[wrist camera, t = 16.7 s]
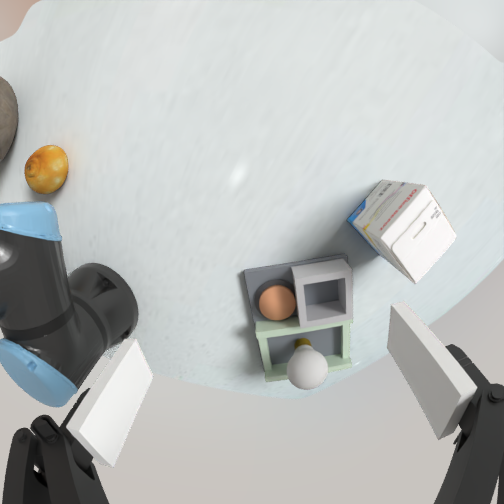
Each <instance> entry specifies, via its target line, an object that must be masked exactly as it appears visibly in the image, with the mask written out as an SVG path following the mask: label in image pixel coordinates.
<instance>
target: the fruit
mask: <svg viewBox="0 0 504 504" xmlns="http://www.w3.org/2000/svg"><path fill="white" fill-rule="evenodd" d="M67 173H68V159H67V156H66V153H65V152H64V151H63V149H61V148H60V147H58V146H54V145H47V146H44V147H41V148H40V149H38V150H37V151H35V152H34V153H33V154H32V155H31V156H30V157H29V159H28V160H27V162H26V165H25V178H26V181H27V183H28V185H29V187H30V188H31V189H32V190H34V191H35V192H37V193H41V194H49V193H52V192H54V191H56V190H57V189H59V188H60V187H61V186H62V184H63V183H64V181H65V179H66V177H67Z"/></svg>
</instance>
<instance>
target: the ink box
mask: <svg viewBox="0 0 504 504" xmlns="http://www.w3.org/2000/svg"><path fill="white" fill-rule="evenodd" d="M347 221H348V222H349V223H350V224H351V225H352V226H353V227H354V228H355V229H356V230H357V231H358V232H359V234H360V235H361V236H362V237H363V238H364V239H365V240H366V241H367V242H368V243H369V244H370V246H371V247H372V248H373V249H374V250H375V251H376V252H377V253H378V254H379V255H381V256H382V257H383V258H384V259H385V260H387V261H388V262H389V263H390V264H392V265H393V266H394V267H395V268H396V269H398V270H399V271H400V272H401V273H402V274H404V275H405V276H406V277H407V278H408V279H410V280H411V281H412V282H413V283H414V284H416V283H417V282H418V281H419V280H420V279H421V278H422V277H423V276H424V275H425V274H426V272H427V271H428V270H429V269H430V268H431V267H432V266H433V265H434V264H435V263H436V261H437V260H438V259H439V258H440V257H441V256H442V255H443V253H444V252H445V251H446V250H447V249H448V247H449V246H450V245H451V244H452V243H453V241H454V240H455V239H456V234H455V232H454V230H453V228H452V226H451V224H450V222H449V220H448V219H447V217H446V215H445V214H444V212H443V210H442V209H441V207H440V205H439V204H438V202H437V201H436V199H435V198H434V196H433V195H432V193H431V192H430V190H429V189H428V187H427V186H426V185H421V184H414V183H406V182H398V181H390V180H382V181H381V182H380V183H379V184H378V185H377V187H376V188H375V189H374V190H373V191H372V192H371V193H370V194H369V196H368V197H367V198H366V199H365V200H364V201H363V203H362V204H361V205H360V206H359V207H358V208H357V209H356V211H355V212H354V213H353V214H352V215H351V216H350V217H349V218H348V219H347Z"/></svg>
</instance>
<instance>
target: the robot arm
mask: <svg viewBox="0 0 504 504" xmlns="http://www.w3.org/2000/svg"><path fill="white" fill-rule="evenodd" d="M61 241H62V236H61V235H60V232H59V226H58V220H57V214H56V211H55V209H54V207H53V206H52V205H51V204H50V203H47V202H18V203H4V204H0V328H1V330H2V333H3V335H4V338H3V339H0V362H1V364H2V366H3V367H4V369H5V370H6V372H7V373H8V374H9V376H10V377H11V378H12V379H13V380H14V381H15V382H16V383H17V385H18V386H20V387H21V388H22V389H23V390H24V391H25V392H26V393H28V394H29V395H30V396H32V397H33V398H35V399H36V400H38V401H39V402H41V403H43V404H45V405H48V406H51V407H62V406H64V405H65V404H66V403H67V402H68V401H69V400H70V398H71V397H72V396H73V395H74V394H76V393H77V391H78V389H79V388H80V386H81V385H82V383H83V382H84V380H85V379H86V377H87V376H88V374H89V373H90V372H91V370H92V369H93V367H94V366H95V364H96V363H97V361H98V360H99V359H100V357H101V356H102V354H103V353H104V352H105V351H106V350H108V349H109V348H111V347H113V346H115V345H117V344H119V343H121V342H122V344H121V345H120V346H119V348H118V349H117V351H116V352H115V353H114V355H113V356H112V358H111V359H110V361H109V362H108V363H107V365H106V366H105V368H104V369H103V371H102V372H101V374H100V375H99V377H98V378H97V380H96V381H95V383H94V384H93V386H92V387H91V388H88V389H87V390H86V391H84V392H83V393H82V394H81V395H80V397H79V398H78V400H77V403H75V404H74V406H73V408H72V409H71V410H70V412H69V413H68V415H67V417H66V418H65V420H64V421H63V423H62V424H61V426H60V427H58V425H57V424H56V423H55V421H54V420H53V419H52V418H51V417H50V416H49V415H41V416H39V417H37V418H36V419H35V420H34V421H33V422H32V424H31V428H30V429H31V430H32V431H33V432H34V434H35V435H34V434H33V433H32V432H31V431H30V430H29V429H28V428H21V429H19V430H17V431H16V433H15V434H14V436H13V439H12V444H11V448H10V453H9V458H8V463H7V468H6V475H5V482H4V491H3V500H2V504H109V502H108V500H107V497H106V495H105V492H104V490H103V487H102V485H101V482H100V480H99V477H98V474H97V471H96V468H95V466H94V464H93V463H92V462H91V461H92V459H93V457H94V458H95V459H96V460H97V461H98V462H99V463H100V464H102V465H105V466H109V467H113V468H114V466H115V463H116V461H117V458H118V456H119V454H120V451H121V449H122V446H123V444H124V442H125V440H126V437H127V434H128V433H129V430H130V428H131V426H132V424H133V421H134V419H135V417H136V415H137V412H138V410H139V408H140V406H141V403H142V401H143V399H144V397H145V395H146V393H147V390H148V388H149V386H150V384H151V382H152V380H153V377H154V376H153V374H152V372H151V370H150V368H149V366H148V364H147V362H146V359H145V357H144V355H143V353H142V351H141V348H140V346H139V344H138V342H137V339H127V338H128V337H129V336H130V334H131V333H132V332H133V330H134V329H135V327H136V325H137V321H138V306H137V302H136V299H135V297H134V294H133V292H132V291H131V289H130V287H129V286H128V284H127V283H126V282H125V281H124V279H123V278H122V277H121V276H120V275H119V274H117V273H116V272H115V271H113V270H112V269H110V268H109V267H107V266H104V265H101V264H97V263H88V264H84V265H82V266H80V267H79V268H77V269H76V270H74V271H73V272H72V273H71V274H70V275H69V277H67V273H66V268H65V262H64V257H63V251H62V244H61ZM387 349H388V350H389V352H390V353H391V355H392V357H393V358H394V360H395V362H396V364H397V365H398V367H399V369H400V370H401V372H402V374H403V375H404V377H405V379H406V381H407V382H408V384H409V386H410V388H411V389H412V391H413V393H414V395H415V397H416V398H417V400H418V402H419V404H420V405H421V408H422V409H423V411H424V413H425V415H426V417H427V419H428V421H429V423H430V424H431V426H432V428H433V431H434V433H435V434H436V436H437V438H438V440H439V439H441V438H443V437H445V436H448V435H450V434H452V433H453V432H454V431H455V429H456V427H457V426H458V424H459V426H460V428H461V429H462V430H461V432H460V433H459V435H458V436H457V438H456V439H455V441H454V443H453V444H456V443H457V444H456V448H455V451H454V454H453V457H452V460H451V463H450V466H449V469H448V472H447V474H446V477H445V479H444V482H443V484H442V486H441V489H440V491H439V493H438V496H437V498H436V500H435V502H434V504H490V503H491V500H492V496H493V494H494V490H495V487H496V483H497V479H498V475H499V485H498V498H497V504H504V386H503V385H500V384H490V383H489V382H488V380H487V379H486V378H485V376H484V375H483V374H482V373H481V372H480V370H479V369H478V368H477V367H476V366H475V365H474V363H472V361H471V360H470V359H469V358H467V355H466V354H465V353H464V352H463V351H462V350H461V349H460V348H458V347H457V346H455V345H453V344H451V345H448V346H444V345H443V344H442V343H441V342H440V340H439V339H438V338H437V337H436V336H435V335H434V334H433V332H432V331H431V330H430V329H429V328H428V327H427V326H426V324H425V323H424V322H423V321H422V320H421V319H420V318H419V317H418V316H417V315H416V313H415V312H414V311H413V310H412V309H411V308H410V307H409V306H408V305H407V304H406V303H405V302H404V301H403V302H398V303H394V304H391V312H390V324H389V335H388V344H387ZM34 465H35V466H37V467H38V468H39V471H38V472H36V471H35V470H34Z"/></svg>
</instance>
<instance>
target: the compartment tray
mask: <svg viewBox="0 0 504 504" xmlns="http://www.w3.org/2000/svg"><path fill="white" fill-rule="evenodd" d="M244 275H245V280H246V285H247V290H248V295H249V300H250V305H251V310H252V315H253V320H254V324H255V329H256V337H257V339H258V344H259V349H260V354H261V358H262V363H263V368H264V372H265V380H266V382H272V381H280V380H287V379H288V376H287V365H288V362H289V360H290V359H291V357H292V356H293V355H294V352H295V347H294V344H295V342H296V341H297V340H298V339H300V338H306V339H308V340H309V341H310V343H311V346H312V348H313V349H314V350H315V351H317V352H319V353H321V354H322V355H323V356H324V357H325V359H326V361H327V364H328V373H329V372H334V371H339V370H344V369H349V368H352V362H351V360H350V324H351V323H353V280H352V268H351V267H350V266H349V265H348V258H347V255H346V254H340V255H334V256H328V257H322V258H316V259H310V260H304V261H297V262H291V263H285V264H278V265H272V266H266V267H259V268H252V269H246V270H244ZM273 285H282V286H285V287H287V288H289V289H290V290H291V291H292V292H293V294H294V297H295V301H296V306H295V310H294V312H293V313H292V314H291V315H290V316H289V317H287V318H286V319H283V320H271V319H268V318H266V317H265V316H264V315H263V314H262V313H261V311H260V308H259V299H260V296H261V294H262V292H263V291H264V290H265V289H266V288H268V287H270V286H273Z"/></svg>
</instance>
